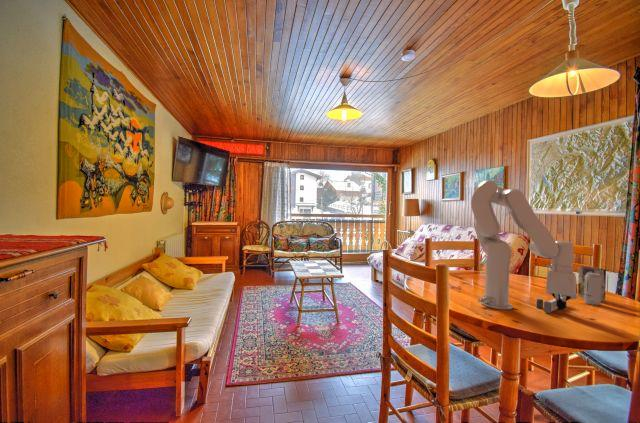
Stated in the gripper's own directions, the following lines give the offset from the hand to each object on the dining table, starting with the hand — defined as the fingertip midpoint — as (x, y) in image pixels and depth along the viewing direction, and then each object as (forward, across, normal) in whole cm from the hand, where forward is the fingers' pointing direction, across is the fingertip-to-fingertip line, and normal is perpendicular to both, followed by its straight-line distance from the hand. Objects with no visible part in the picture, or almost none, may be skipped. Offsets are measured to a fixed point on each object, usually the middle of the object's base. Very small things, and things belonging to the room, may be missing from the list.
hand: (561, 309), depth 127 cm
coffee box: (+2, +2, +41) cm, 41 cm away
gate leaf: (+1, -3, +2) cm, 4 cm away
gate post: (+2, -3, +13) cm, 13 cm away
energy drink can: (+2, +5, +29) cm, 30 cm away
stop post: (+1, -8, -2) cm, 8 cm away
